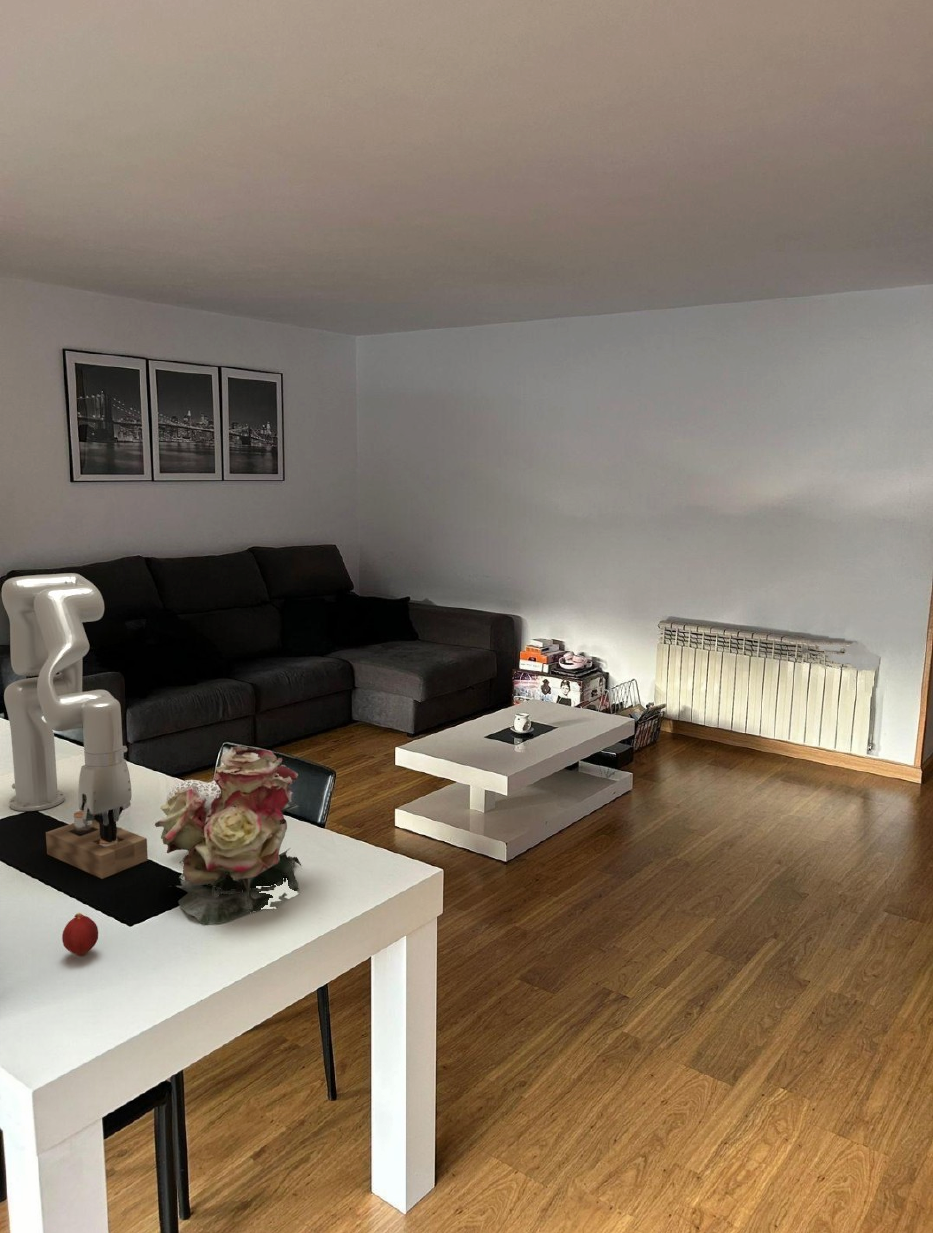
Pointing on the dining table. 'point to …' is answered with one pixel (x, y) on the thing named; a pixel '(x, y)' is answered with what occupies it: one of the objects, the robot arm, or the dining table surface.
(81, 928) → the onion
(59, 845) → the socket block
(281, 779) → the rose bouquet
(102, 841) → the plunger
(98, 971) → the dining table surface
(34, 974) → the dining table surface
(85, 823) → the plunger
